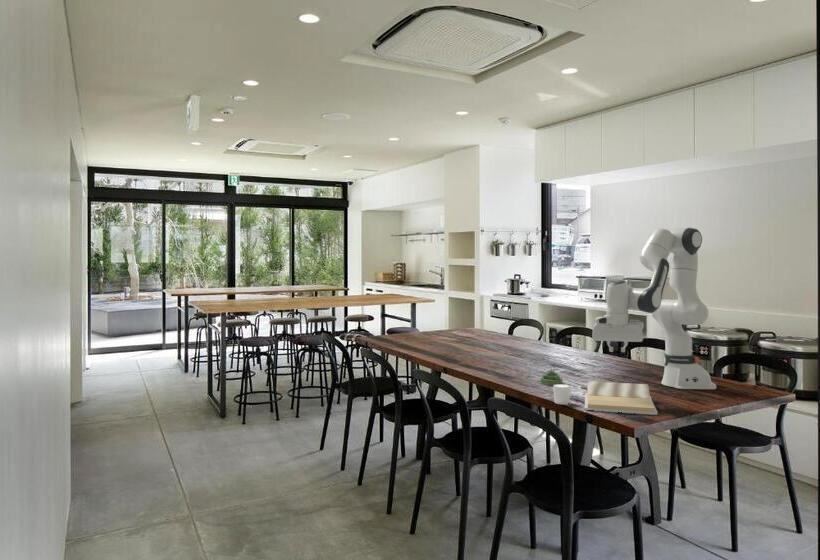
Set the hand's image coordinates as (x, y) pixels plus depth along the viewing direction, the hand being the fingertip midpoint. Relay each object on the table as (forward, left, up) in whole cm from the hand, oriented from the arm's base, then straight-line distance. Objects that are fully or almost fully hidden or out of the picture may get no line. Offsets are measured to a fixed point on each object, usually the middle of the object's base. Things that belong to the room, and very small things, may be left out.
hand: (617, 351), depth 243 cm
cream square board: (0, +13, -19) cm, 23 cm away
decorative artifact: (+28, -19, -20) cm, 39 cm away
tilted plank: (0, +6, -16) cm, 17 cm away
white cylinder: (+22, +16, -19) cm, 33 cm away
